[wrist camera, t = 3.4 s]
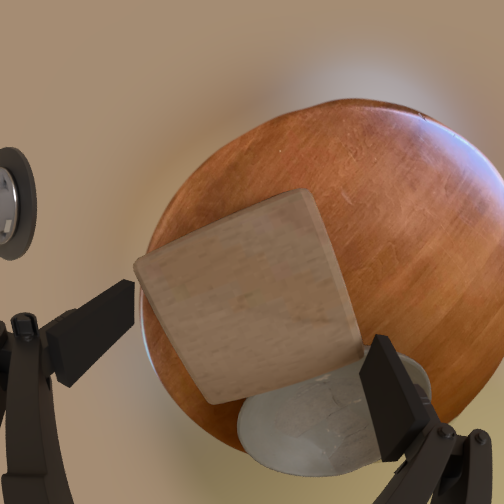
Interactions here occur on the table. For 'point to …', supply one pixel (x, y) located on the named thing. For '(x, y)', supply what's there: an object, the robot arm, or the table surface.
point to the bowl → (316, 423)
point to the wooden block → (254, 299)
